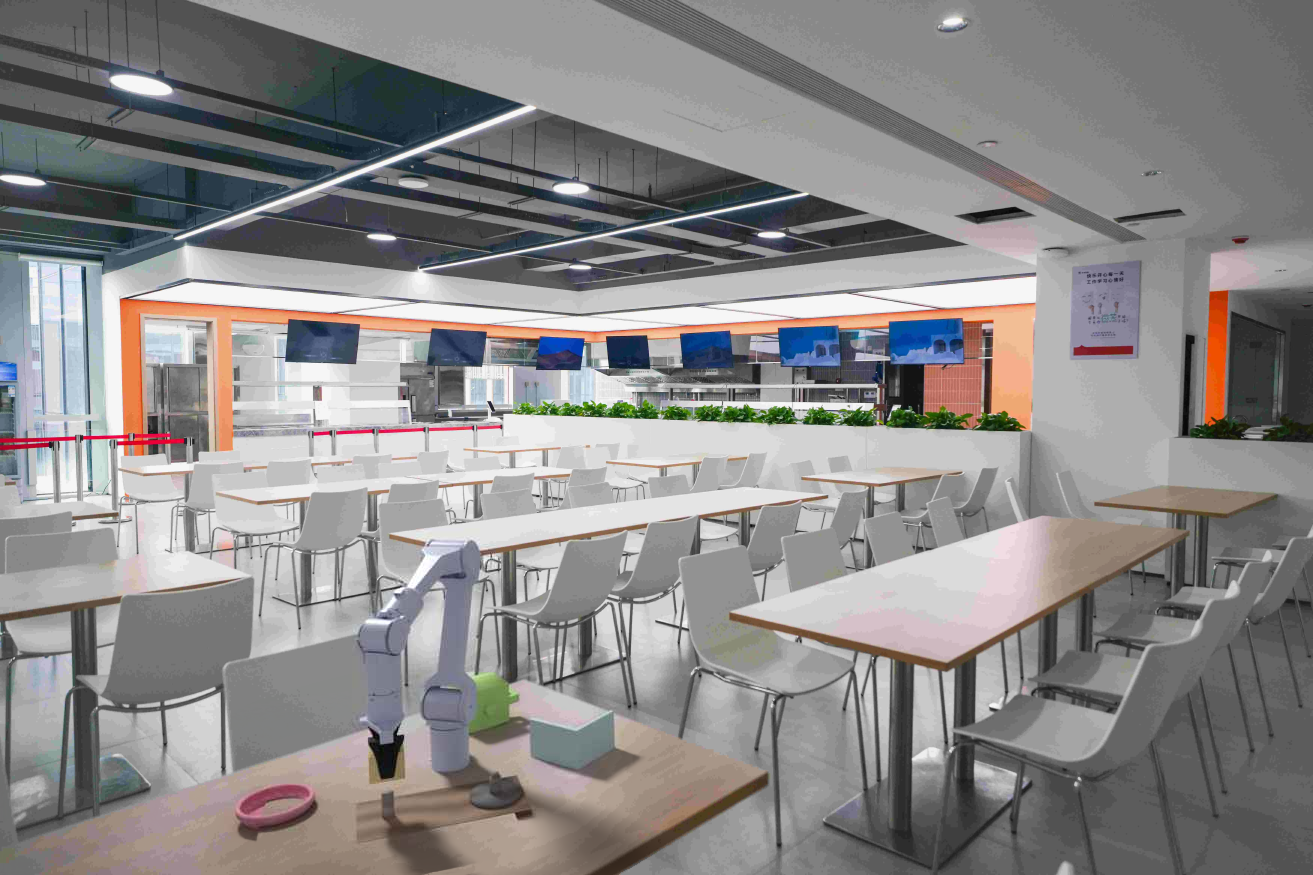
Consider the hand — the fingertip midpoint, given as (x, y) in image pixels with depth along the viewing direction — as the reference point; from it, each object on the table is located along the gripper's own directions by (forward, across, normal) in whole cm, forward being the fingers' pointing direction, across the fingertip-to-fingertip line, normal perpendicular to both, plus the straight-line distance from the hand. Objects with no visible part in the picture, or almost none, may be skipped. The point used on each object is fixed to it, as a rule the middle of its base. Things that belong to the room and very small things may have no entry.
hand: (386, 769), depth 136 cm
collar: (+1, 0, 0) cm, 1 cm away
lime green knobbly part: (+9, -37, +20) cm, 43 cm away
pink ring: (+9, -10, -18) cm, 23 cm away
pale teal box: (+9, -15, +36) cm, 40 cm away
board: (+9, 0, +9) cm, 13 cm away
